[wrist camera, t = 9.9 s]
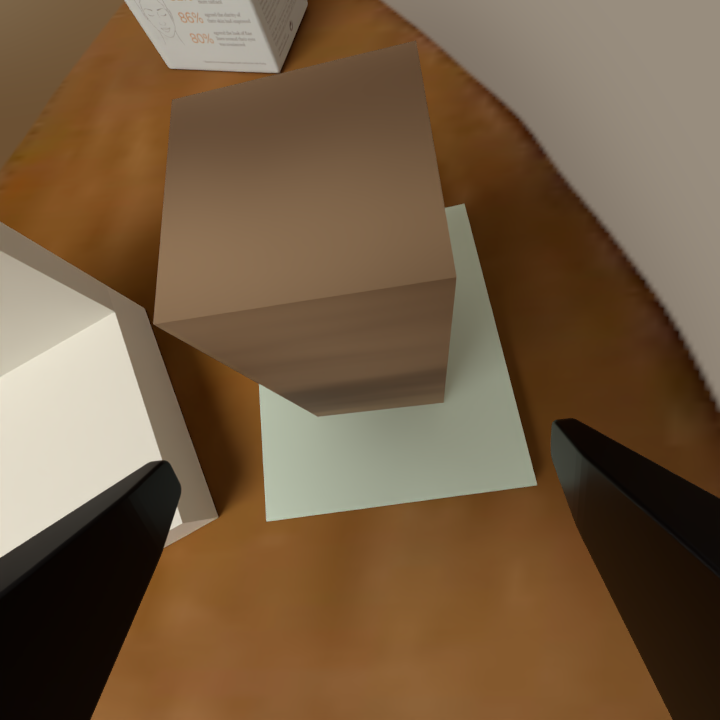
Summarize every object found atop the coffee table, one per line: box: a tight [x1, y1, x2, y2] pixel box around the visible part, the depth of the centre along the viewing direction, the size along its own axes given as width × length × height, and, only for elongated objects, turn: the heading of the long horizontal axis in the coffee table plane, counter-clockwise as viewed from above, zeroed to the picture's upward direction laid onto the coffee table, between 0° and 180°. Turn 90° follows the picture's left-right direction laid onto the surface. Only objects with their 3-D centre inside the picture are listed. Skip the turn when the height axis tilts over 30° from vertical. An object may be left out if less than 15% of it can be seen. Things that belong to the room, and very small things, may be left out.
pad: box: [259, 204, 537, 522], centre depth 17 cm, size 12×10×1 cm
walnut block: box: [153, 41, 457, 417], centre depth 12 cm, size 5×5×10 cm
